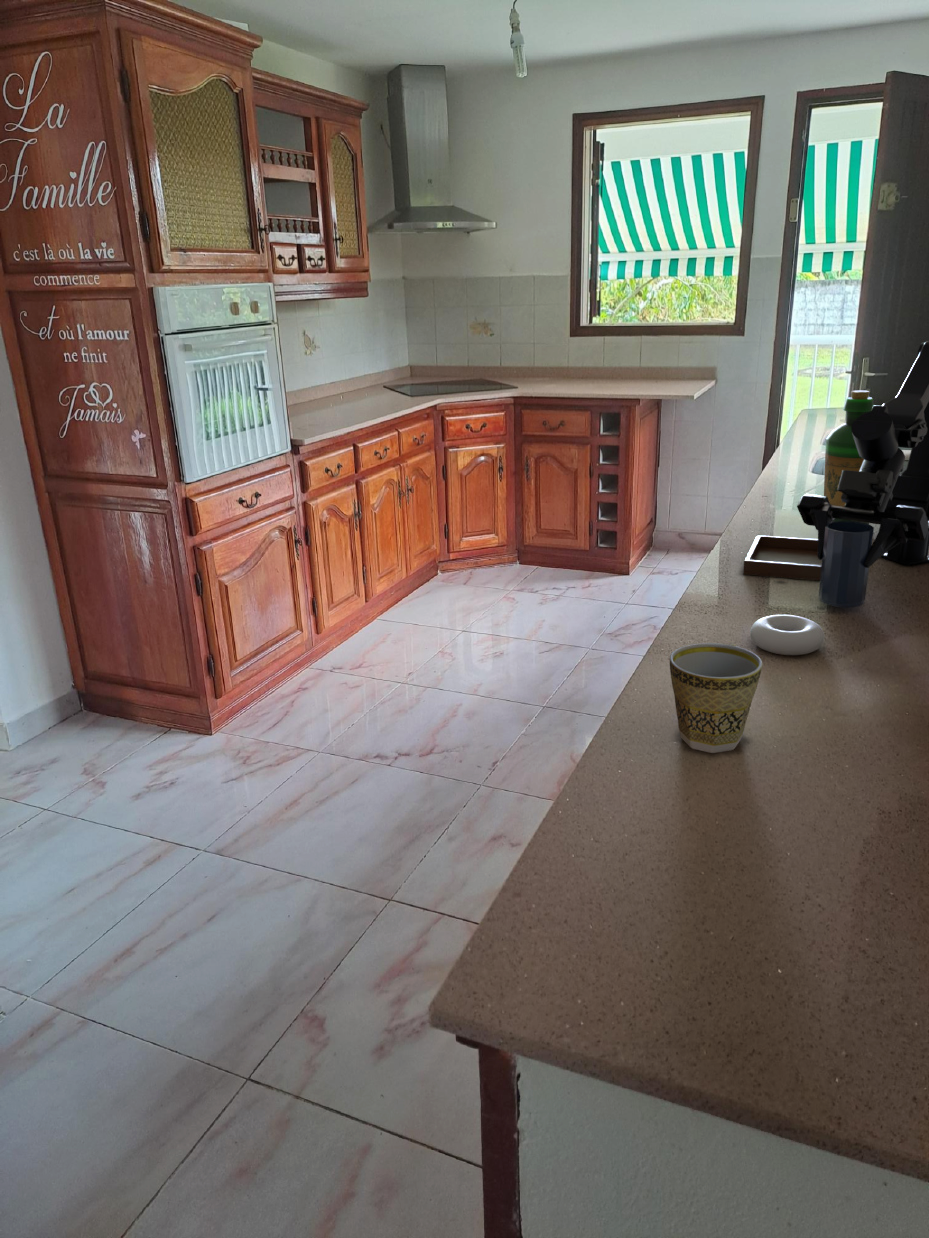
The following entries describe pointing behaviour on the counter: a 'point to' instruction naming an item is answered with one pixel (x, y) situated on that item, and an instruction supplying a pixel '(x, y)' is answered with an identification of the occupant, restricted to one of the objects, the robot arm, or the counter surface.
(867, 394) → the bottle
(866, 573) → the cup
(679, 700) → the ceramic cup
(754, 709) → the counter surface
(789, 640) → the donut
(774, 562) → the tray
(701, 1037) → the counter surface
